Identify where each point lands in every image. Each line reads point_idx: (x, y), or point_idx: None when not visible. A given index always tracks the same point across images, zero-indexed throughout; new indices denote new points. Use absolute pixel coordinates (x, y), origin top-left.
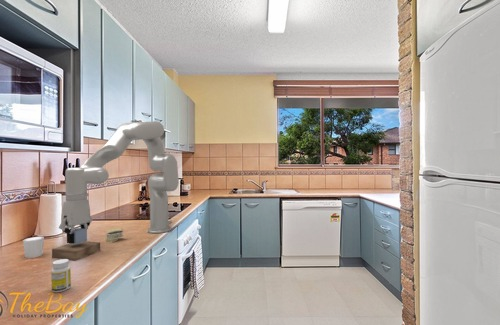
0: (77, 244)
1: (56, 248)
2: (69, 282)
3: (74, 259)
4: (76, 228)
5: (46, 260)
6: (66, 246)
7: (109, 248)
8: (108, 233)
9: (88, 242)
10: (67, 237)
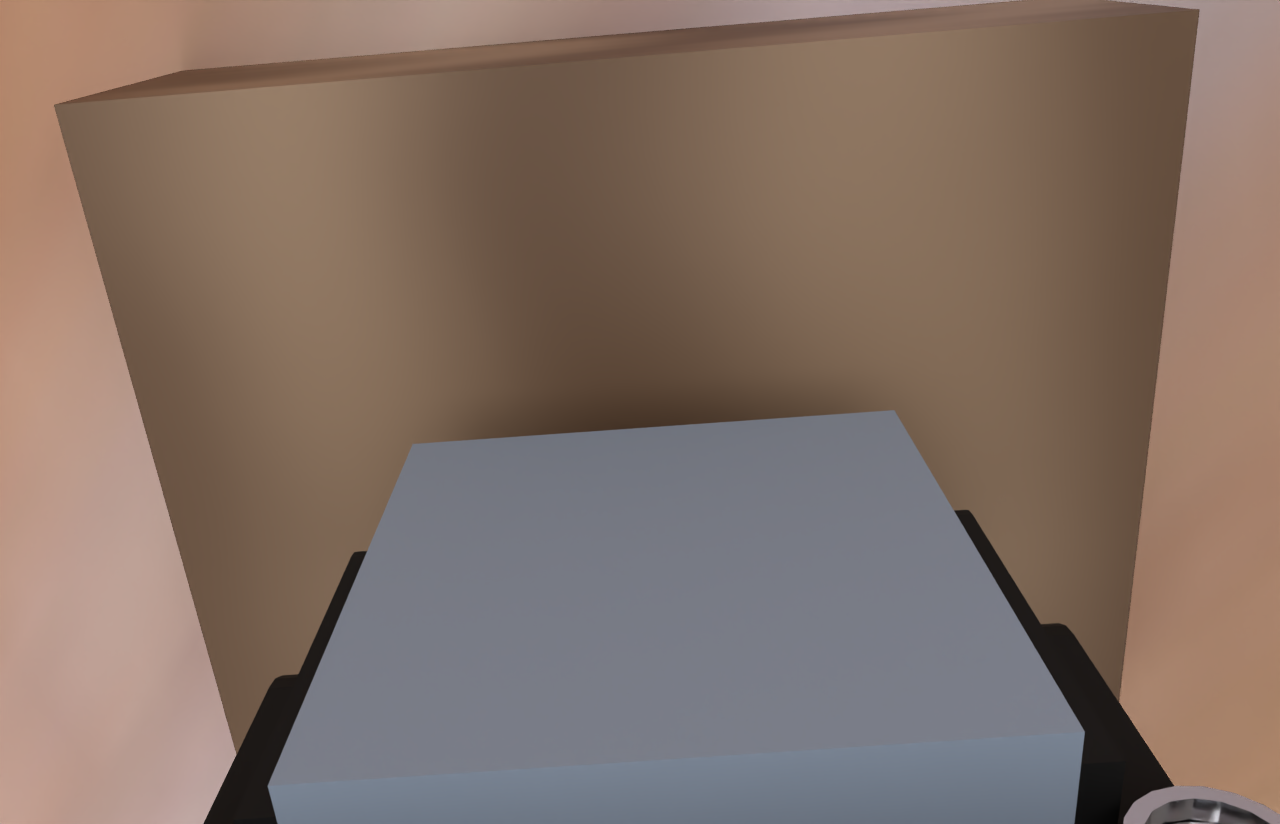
0: None
1: (178, 196)
2: None
3: None
4: (963, 760)
5: (4, 128)
6: (469, 317)
7: (1216, 758)
8: None
9: (1036, 585)
10: (237, 802)
